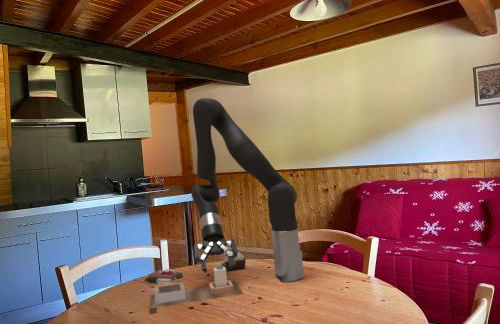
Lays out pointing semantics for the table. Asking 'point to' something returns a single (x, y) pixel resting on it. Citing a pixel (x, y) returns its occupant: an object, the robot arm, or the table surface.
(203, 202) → the robot arm
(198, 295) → the panel
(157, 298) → the frame
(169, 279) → the walkie-talkie
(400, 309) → the table surface
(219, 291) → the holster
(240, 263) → the skull
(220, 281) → the plug
